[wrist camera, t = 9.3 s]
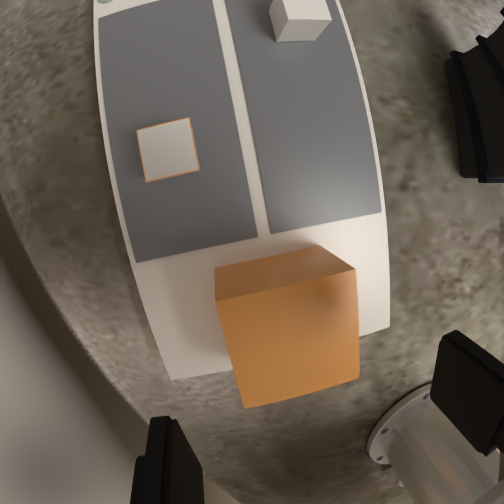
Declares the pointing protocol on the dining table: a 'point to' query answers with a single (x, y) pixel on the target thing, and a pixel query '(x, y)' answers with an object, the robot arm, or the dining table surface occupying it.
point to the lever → (299, 19)
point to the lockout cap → (289, 324)
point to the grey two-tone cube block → (168, 150)
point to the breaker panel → (236, 159)
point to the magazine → (480, 106)
